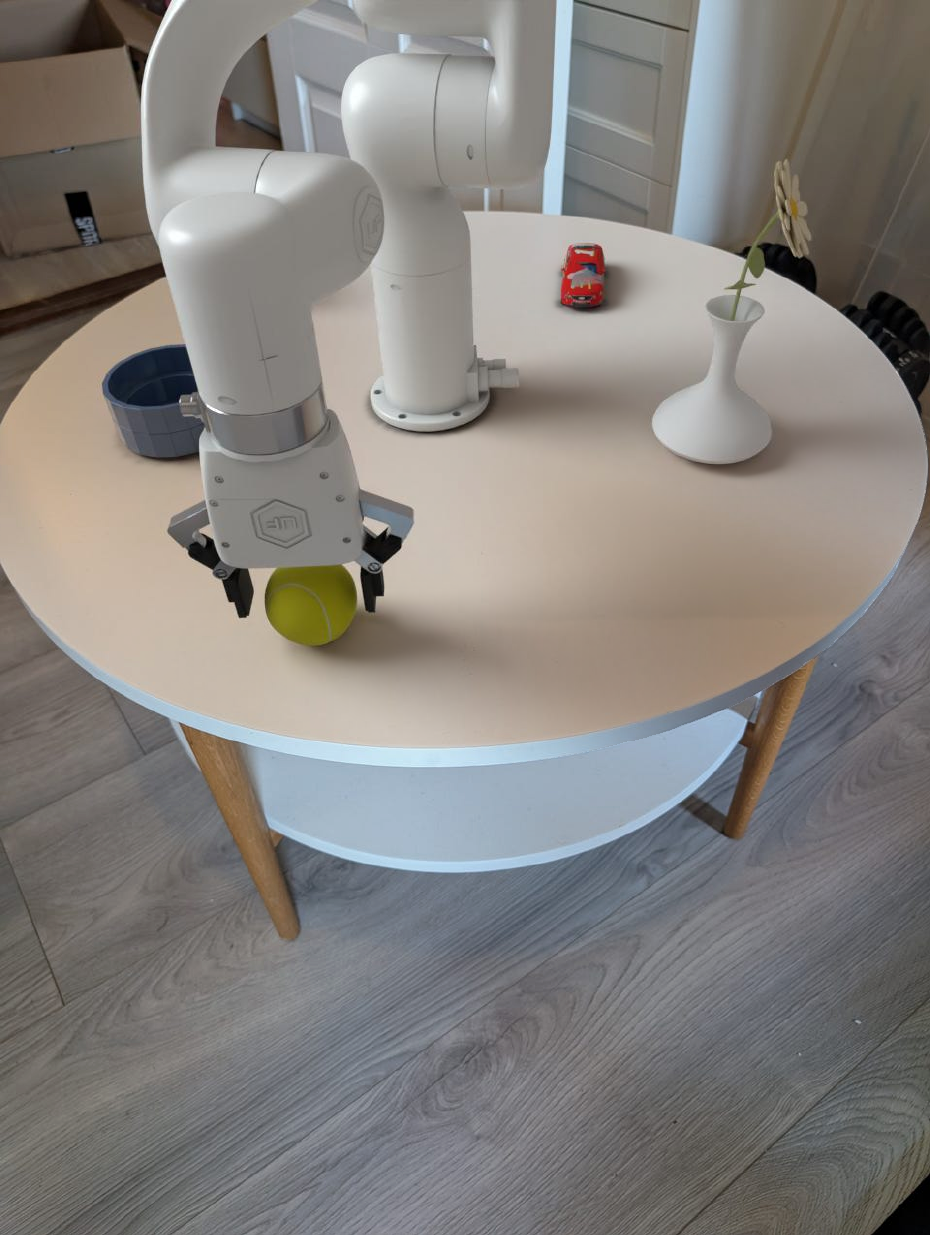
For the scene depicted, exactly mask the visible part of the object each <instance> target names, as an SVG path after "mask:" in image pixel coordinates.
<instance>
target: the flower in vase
mask: <svg viewBox="0 0 930 1235" xmlns="http://www.w3.org/2000/svg"><path fill="white" fill-rule="evenodd" d="M773 174H774V176H773V177H774V191H775V201H776V206H777V209H776V213H774V215H773V216H772V217H771V218H770V220H769V221H768V222H767V224H766V225H765V226H764V228H762V231H760V233H759V235H758V236H757V238H756V239H755V240H754V243H753V244H752V246H751V247H750V250H749V252H748V254H747V258H746V260H745V262H744V265H743V269H742V272H741V275H740V279H739V280H738V281H737V282H735V283H734V284H733V285H729V286H727V287H724V288H723V290H736V293H735V294H725V295H718V296H715V297H713V298H711V299H709V300H708V301H707V302H706V303H705V306H704V307H705V312H706V313H707V315H708V317H709V319H710V322H711V324H712V328H713V329H712V330H713V347H712V348H713V349H712V357H711V362H710V366H709V370H708V373H707V375H706V377H705V378H704V380H702V381H701V382H698V383H696V384H693V385H690V386H688V387H685V388H683V389H681V390H678V391H675V393H673V394H671V395H670V396H668V397H667V398H666V399H664V400H663V401H662V402H661V403H660V404H659V405H658V407H657V408H656V409H655V411H654V413H653V415H652V418H651V427H652V431H653V433H654V435H655V436H656V438H657V440H658V441H659V443H661V445H662V446H663V447H665V448H666V449H667V450H669V451H670V452H671V453H673V454H675V455H676V456H679V457H681V458H684V459H686V460H690V461H692V462H697V463H701V464H711V465H726V464H727V465H729V464H735V463H740V462H743V461H746V460H749V459H751V458H753V457H754V456H756V455H757V454H759V453H760V452H762V451H763V450H764V449H765V448H766V447H767V446H769V443H770V441H771V439H772V435H773V428H772V423H771V419H770V417H769V414H768V413H767V412H766V410H765V409H764V408H763V407H762V405H760V403H759V402H758V401H757V400H756V399H754V398H753V397H752V396H751V395H750V394H748V392H746V391H745V390H743V389H742V388H740V387H739V386H738V385H737V382H736V369H737V363H738V359H739V355H740V351H741V349H742V346H743V343H744V341H745V340H746V336H747V334H748V332H749V331H750V330H751V328H752V327H753V326H754V324H756V322H758V321H759V320H761V319H762V317H763V316H764V315H765V307H764V305H763V304H762V303H760V301H757V300H756V299H754V298H751V297H747V296H744V295H741V294H742V293H741V292H742V289H746V288H749V287H752V286H756V285H757V284H756V283H750V282H749V283H748V282H745V279H746V274H747V272H748V270H749V272H750V273H751V275H752V276H753V277H754V279H759V278H760V277H762V275H763V273H764V271H765V267H766V262H765V254H764V251H763V250H762V249H761V248H759V247H758V245H759V244H760V242H761V241H762V239H764V236H765V235H766V234H767V232H768V231H769V230H770V229H771V227H772V226H773V225H774V223H775V222H776V221H777V220H779V221H780V222H781V228H782V232H783V235H784V238H785V239H786V242H787V244H788V246H789V248H790V251H791V253H792V254H793V256H794V257H795V258H798V259H801V258H803V257H804V255H805V256H810V255H809V254H810V250H809V248H808V245H807V241H808V242H812V234H811V232H810V229H809V228H808V225H807V224H808V223H807V221H806V219H805V218H804V217H805V216H806V215H808V206H807V204H806V202H805V201H804V200H801V193H800V190H799V187H800V181H799V177H798V174H796V173H795V174H793V176H792V178H791V168H790V162H789V159H788V158H785V159H784V161H783V163H782V161H781V160H778V161H776V163H775V168H774V172H773ZM806 240H807V241H806Z"/></svg>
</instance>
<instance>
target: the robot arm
mask: <svg viewBox="0 0 930 1235" xmlns="http://www.w3.org/2000/svg"><path fill="white" fill-rule="evenodd" d="M319 1H320V0H171V1H170V3H169V5H168V8H167V10H166V11H165V13H164V16H163V18H162V20H161V23H160V25H159V27H158V29H157V32H156V35H155V37H154V39H153V42H152V45H151V47H150V50H149V53H148V57H147V59H146V63H145V67H144V73H143V78H142V84H141V95H140V126H141V127H140V128H141V129H140V130H141V131H140V132H141V162H142V163H141V164H142V182H143V191H144V192H143V193H144V199H145V208H146V212H147V218H148V223H149V226H150V229H151V232H152V235H153V237H154V240H155V242H156V245H157V246H158V249H159V253H160V258H161V262H162V266H163V269H164V273H165V277H166V279H167V284H168V287H169V290H170V295H171V297H172V301H173V305H174V309H175V312H176V316H177V319H178V322H179V326H180V331H181V333H182V337H183V341H184V344H185V345H186V348H187V352H188V355H189V359H190V362H191V366H192V370H193V373H194V377H195V380H196V384H197V388H198V391H197V392H193V393H192V395H181V396H180V409H181V413H182V415H183V416H194V417H195V418H200V419H201V420H202V422H203V423H204V425H205V428H204V430H203V432H202V434H201V436H200V439H199V452H198V453H199V464H200V466H199V467H200V473H201V481H202V488H203V494H204V500H202V501H200V502H198V503H196V504H194V505H192V506H190V507H188V508H186V509H184V510H182V511H181V512H179V513H177V514H175V515H172V517H171V518H170V521H169V524H168V527H167V528H166V529H167V530H166V531H167V534H168V535H169V536H170V537H171V538H172V539H173V540H174V541H175V542H176V543H177V544H178V545H179V546H180V547H181V548H183V549H185V550H186V551H187V554H188V556H189V557H190V559H192V560H194V561H196V562H198V563H199V564H201V565H202V566H204V567H206V568H209V569H210V570H211V571H212V576H213V577H214V578H216V579H218V580H220V581H221V582H222V586H223V590H224V592H225V595H226V599H227V601H228V603H234V607H235V610H236V613H237V616H238V618H239V619H247V618H248V617H249V616H250V613H251V607H252V604H253V599H254V594H255V589H254V585H253V581H252V578H251V574H250V570H249V569H251V570H252V569H253V570H254V569H276V568H283V567H307V566H329V565H341V564H342V565H346V564H350V563H352V562H355V563H356V564H357V565H359V566H360V571H359V572H360V573H359V574H360V575H359V577H360V585H361V592H362V598H363V604H364V610H365V612H367V613H368V614H375V613H376V606H377V597H384V596H385V578H384V570H383V568H384V567H383V565H385V564H386V563H387V562H388V561H389V560H390V559H391V558H392V557H393V556H395V555H396V554H397V553H398V552H399V551H400V550H401V549H402V547H403V543H404V541H405V540H406V539H407V537H408V535H409V534H410V531H411V530H412V528H413V526H414V524H415V510H414V508H413V507H411V506H408V505H406V504H403V503H400V502H398V501H394V500H392V499H389V498H386V497H383V496H380V495H378V494H375V493H372V492H369V491H366V490H364V489H361V485H360V482H359V478H358V474H357V473H358V472H357V469H356V466H355V461H354V459H353V454H352V450H351V448H350V445H349V442H348V438H347V436H346V434H345V430H344V428H343V425H342V423H341V421H340V419H339V417H338V415H337V413H336V411H334V410H333V409H332V408H331V409H330V408H328V406H327V399H326V394H325V393H326V392H325V388H324V382H323V374H322V369H321V368H322V367H321V362H320V356H319V351H318V343H317V337H316V332H315V326H314V320H313V314H312V313H313V312H312V311H313V308H315V306H316V305H318V304H319V303H321V302H323V301H324V300H326V299H328V298H330V297H331V296H333V295H335V294H337V293H338V292H340V291H342V290H344V289H345V288H347V287H348V286H350V285H352V284H353V283H355V281H357V280H358V279H359V278H360V277H361V276H362V275H363V274H364V273H365V272H366V270H368V268H370V274H371V283H372V291H373V300H374V301H373V302H374V309H375V318H376V325H377V327H376V328H377V334H378V344H379V350H380V351H379V354H380V361H381V369H382V374H381V375H380V376H379V377H378V378H377V379H375V381H374V383H373V384H372V386H371V389H370V403H371V408H372V410H373V412H374V413H375V415H376V416H377V417H378V418H379V419H380V420H382V421H383V422H385V423H387V424H388V425H390V426H393V427H395V428H399V429H401V430H402V429H403V430H406V431H413V432H438V431H440V432H441V431H446V430H449V429H454V428H458V427H460V426H463V425H466V424H467V423H469V422H472V421H473V420H475V419H476V418H477V417H479V416H480V415H481V414H482V413H483V412H484V411H485V410H486V408H487V407H488V405H489V403H490V399H491V398H490V397H491V394H490V393H491V392H490V391H491V390H490V388H502V389H506V388H507V389H508V388H509V389H510V388H519V387H520V370H519V367H510V368H508V367H507V364H506V363H507V362H506V361H507V360H506V358H494V359H484V357H478V354H477V353H478V351H477V350H478V349H477V344H475V343H474V314H473V313H474V310H473V307H474V306H473V278H472V276H473V275H472V243H471V242H472V240H471V232H470V227H469V223H468V220H467V218H466V215H465V213H464V210H463V209H462V206H461V204H460V203H459V202H458V199H457V198H456V196H455V195H454V193H453V192H452V190H451V189H450V188H449V187H453V188H454V187H456V188H470V189H471V188H472V189H487V190H488V189H489V190H490V189H491V190H518V189H524V188H527V187H529V186H531V185H533V184H534V183H535V182H536V181H537V180H538V179H539V178H540V177H541V176H542V174H543V172H544V170H545V168H546V165H547V162H548V159H549V158H548V157H549V152H550V148H551V139H552V128H553V127H552V126H553V110H554V80H555V55H556V54H555V52H556V30H557V29H556V25H557V1H558V0H352V2H353V6H354V8H355V10H356V12H357V15H358V17H359V18H360V20H362V22H363V23H364V24H365V25H367V26H369V28H372V29H374V30H377V31H379V32H383V33H388V34H395V35H397V34H398V35H405V36H433V37H439V36H440V37H466V38H467V37H469V38H483V39H485V40H486V41H487V43H488V44H489V45H490V47H491V50H492V53H493V55H492V56H491V55H487V56H486V55H455V54H453V55H452V54H450V53H418V52H417V53H412V52H411V53H410V52H409V53H408V52H399V53H387V54H382V55H381V54H380V55H376V56H372V57H370V58H368V59H366V60H364V61H363V62H361V63H359V64H358V65H357V66H356V67H354V69H353V70H352V71H351V72H350V74H349V75H348V76H347V78H346V80H345V83H344V85H343V88H342V93H341V99H340V117H341V125H342V133H343V137H344V141H345V144H346V148H347V152H348V155H349V158H348V157H345V156H342V155H337V154H333V153H325V152H312V151H291V150H290V151H289V150H278V149H267V148H266V149H265V148H250V147H249V148H248V147H233V146H231V147H230V146H216V137H217V136H216V134H217V133H216V132H217V131H216V130H217V129H216V128H217V118H218V111H219V107H220V106H219V105H220V102H221V98H222V95H223V92H224V89H225V87H226V83H227V82H228V79H229V78H230V76H231V74H232V72H233V71H234V69H235V67H236V66H237V64H238V63H239V61H240V60H241V59H242V57H243V56H244V55H245V54H246V53H247V51H248V50H249V49H250V48H252V47H253V45H254V44H256V43H257V41H259V40H260V39H261V38H262V37H264V36H265V35H266V34H267V33H268V32H270V31H272V30H273V29H274V28H276V27H277V26H279V25H281V24H282V23H283V22H285V21H287V20H288V19H290V18H292V17H293V16H295V15H297V14H298V13H300V12H301V11H304V10H305V9H306V8H308V7H310V6H312V5H313V4H315V3H317V2H319ZM365 518H368V519H370V520H371V519H372V520H374V521H377V522H380V523H383V524H386V525H388V526H387V527H386V528H385V529H384V530H383V531H382V532H380V533H379V534H378V535H377V533H375V532H374V531H372V530H371V529H369V527H367V526H366V525H364V523H363V522H364V520H365ZM207 526H210V530H211V535H212V537H210V536H209V535H207V534H205V533H203V532H200V530H201V529H203V528H205V527H207Z"/></svg>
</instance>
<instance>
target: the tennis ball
mask: <svg viewBox="0 0 930 1235" xmlns="http://www.w3.org/2000/svg"><path fill="white" fill-rule="evenodd" d="M357 606H358V591H357V587H356V583H355V580H354V578H353V576H352V574H351V573H350V572H349V570H348V569H347V568H346V567H345V566H344V564H341V565H329V566H307V567H283V568H275V570H274V571H273V572H272V573H271V575H270V577H269V579H268V581H267V583H266V587H265V591H264V610H265V615H266V617H267V620H268V621H269V623H270V625H271V626H272V628H273V629H274V630H275V631H276V632H277V633H278V634H279V635H281V636H282V637H283V638H285V639H286V640H288V641H289V642H293V643H295V644H298V645H301V646H311V647H312V646H322V645H327V644H329V643H330V642H334V641H336V640H337V639H339V638H340V637H341V636H343V634H344V633H345V632H346V631H347V630H348V628H349V627H350V626H351V624H352V622H353V620H354V617H355V615H356V612H357V608H358V607H357Z"/></svg>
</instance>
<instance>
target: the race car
mask: <svg viewBox="0 0 930 1235" xmlns="http://www.w3.org/2000/svg"><path fill="white" fill-rule="evenodd" d="M604 254H605V253H604V250H603V248H602V246H601V245H599V244H597V243H589V242H585V243H584V242H581V243H580V242H577V243H573V244H571V245H569V246H568V248H567V251H566V253H565V255H564V258H563V267H562V268H561V269H560V271H561V272H562V278H561V279H562V280H561V287H560V304H562V305H565V306H568V307H574V308H591V307H593V308H594V307H596V306H599V305H600V306H601V305H603V298H604V297H603V296H604V288H605V286H604V282H605V281H604V280H605V273H607V269H605V260H606V258H605V255H604Z"/></svg>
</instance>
